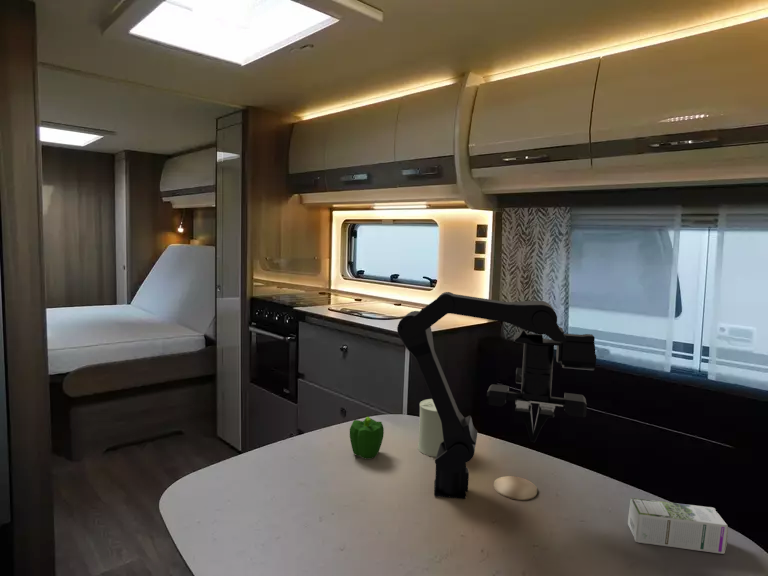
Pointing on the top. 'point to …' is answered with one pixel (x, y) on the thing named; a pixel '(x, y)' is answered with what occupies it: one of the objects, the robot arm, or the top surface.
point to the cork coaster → (515, 488)
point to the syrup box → (677, 525)
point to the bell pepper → (366, 437)
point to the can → (429, 429)
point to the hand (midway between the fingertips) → (532, 441)
